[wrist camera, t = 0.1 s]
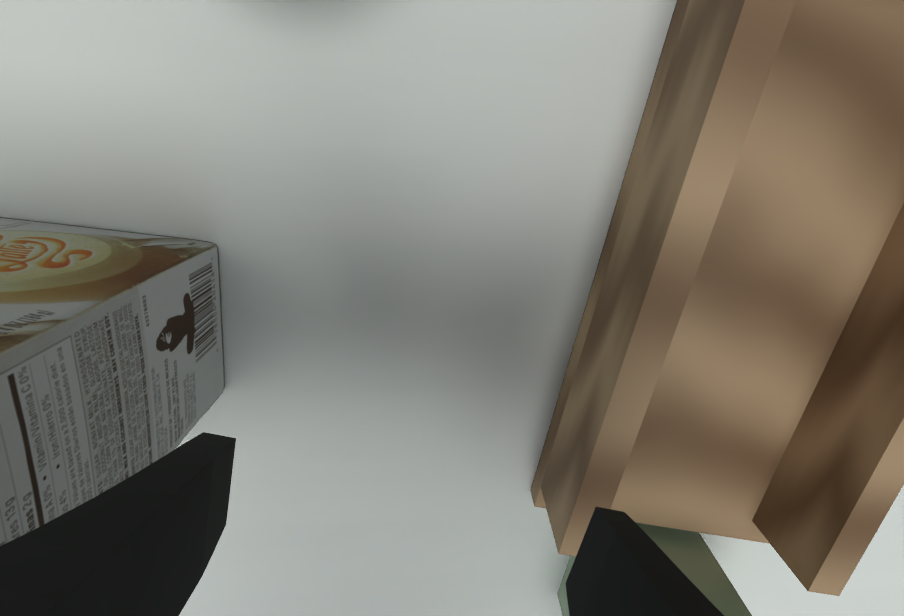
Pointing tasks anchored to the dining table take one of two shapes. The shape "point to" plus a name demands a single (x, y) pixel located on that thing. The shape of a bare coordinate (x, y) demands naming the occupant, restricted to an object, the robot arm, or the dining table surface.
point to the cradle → (750, 294)
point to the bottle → (685, 568)
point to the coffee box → (98, 360)
